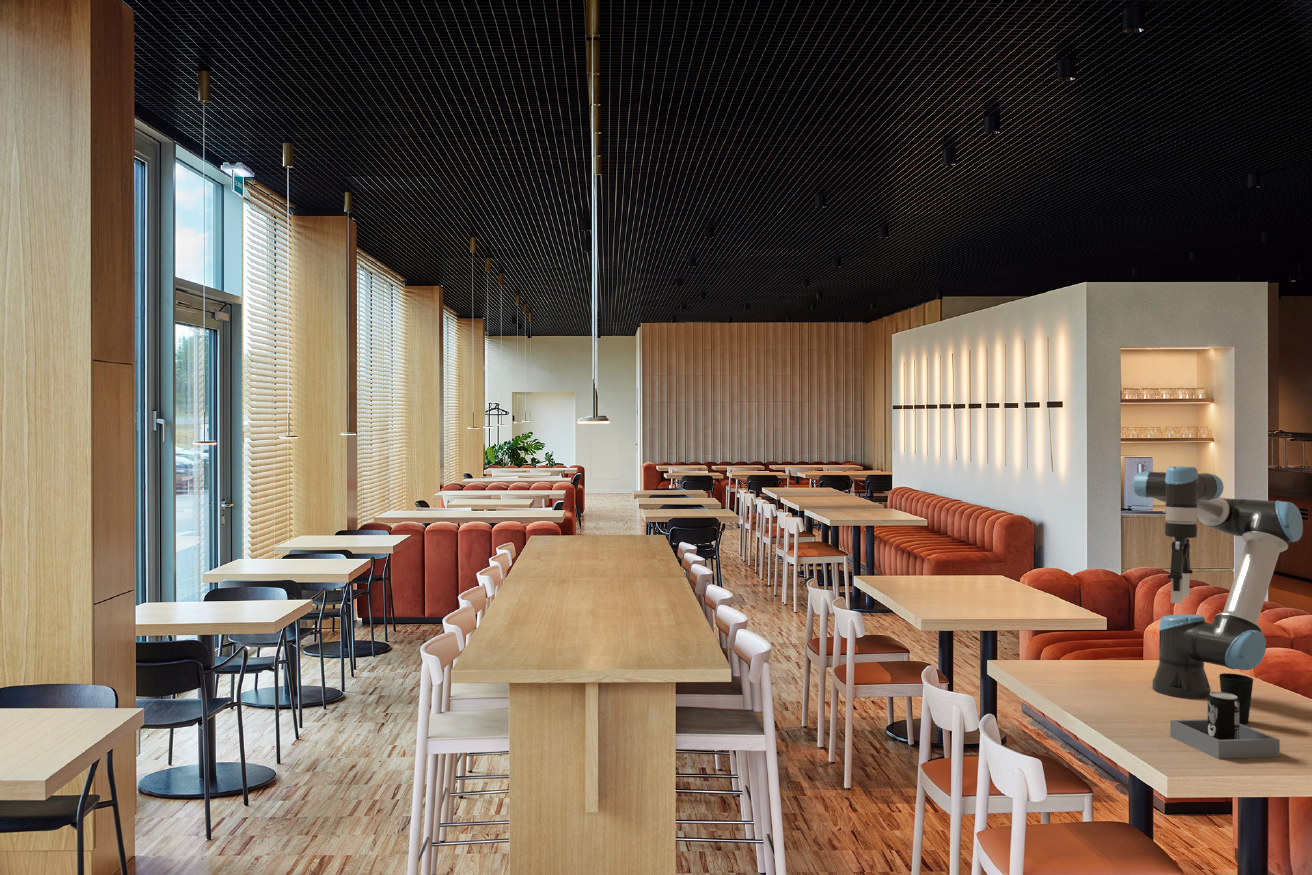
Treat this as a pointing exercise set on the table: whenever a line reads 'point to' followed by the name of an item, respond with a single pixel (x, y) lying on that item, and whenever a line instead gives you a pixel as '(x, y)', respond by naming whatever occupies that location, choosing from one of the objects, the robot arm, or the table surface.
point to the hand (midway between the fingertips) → (1180, 599)
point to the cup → (1238, 692)
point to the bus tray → (1244, 747)
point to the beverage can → (1223, 716)
